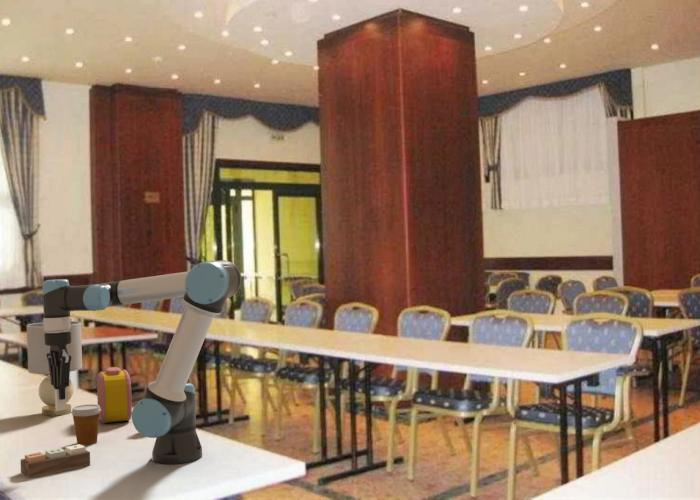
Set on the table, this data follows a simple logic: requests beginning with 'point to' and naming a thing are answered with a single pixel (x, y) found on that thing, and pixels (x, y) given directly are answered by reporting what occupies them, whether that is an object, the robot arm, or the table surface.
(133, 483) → the table surface
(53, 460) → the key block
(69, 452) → the key one
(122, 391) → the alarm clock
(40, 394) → the lamp
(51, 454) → the key two
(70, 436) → the table surface
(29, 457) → the key three
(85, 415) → the disposable coffee cup
